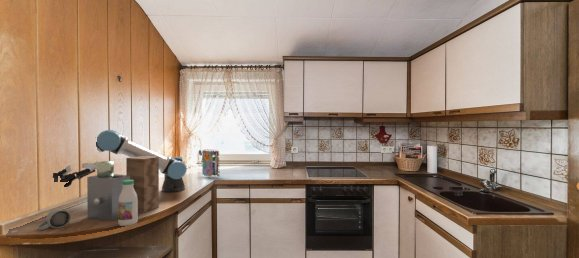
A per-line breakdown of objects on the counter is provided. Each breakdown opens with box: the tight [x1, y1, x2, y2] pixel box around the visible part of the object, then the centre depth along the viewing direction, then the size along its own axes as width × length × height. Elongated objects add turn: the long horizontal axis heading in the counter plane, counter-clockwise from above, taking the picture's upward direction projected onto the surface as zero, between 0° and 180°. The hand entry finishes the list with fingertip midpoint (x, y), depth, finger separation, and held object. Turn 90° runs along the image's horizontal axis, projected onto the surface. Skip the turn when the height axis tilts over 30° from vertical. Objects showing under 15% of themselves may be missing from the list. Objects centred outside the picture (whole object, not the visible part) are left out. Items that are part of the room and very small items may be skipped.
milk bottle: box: [117, 180, 139, 227], centre depth 128 cm, size 8×8×20 cm
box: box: [198, 148, 221, 179], centre depth 243 cm, size 25×6×24 cm, turn 55°
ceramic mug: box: [37, 208, 72, 231], centre depth 123 cm, size 11×8×8 cm
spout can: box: [81, 160, 115, 177], centre depth 141 cm, size 7×18×7 cm, turn 72°
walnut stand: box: [125, 156, 160, 213], centre depth 151 cm, size 10×12×28 cm
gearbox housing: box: [86, 173, 130, 222], centre depth 137 cm, size 12×16×20 cm
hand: (85, 165), depth 143 cm, fingers open, 13 cm apart
